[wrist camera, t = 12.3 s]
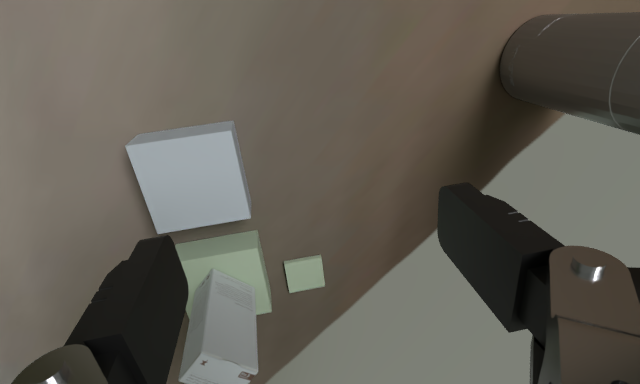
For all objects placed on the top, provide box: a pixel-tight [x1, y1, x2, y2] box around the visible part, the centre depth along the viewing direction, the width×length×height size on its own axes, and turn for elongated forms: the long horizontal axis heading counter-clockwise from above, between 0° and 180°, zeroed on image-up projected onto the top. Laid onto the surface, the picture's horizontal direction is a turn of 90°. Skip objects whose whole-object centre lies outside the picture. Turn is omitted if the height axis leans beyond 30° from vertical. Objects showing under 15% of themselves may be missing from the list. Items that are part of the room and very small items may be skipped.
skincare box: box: [179, 269, 258, 384], centre depth 37 cm, size 6×4×12 cm
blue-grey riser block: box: [125, 121, 251, 234], centre depth 38 cm, size 10×10×4 cm
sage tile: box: [284, 255, 325, 293], centre depth 48 cm, size 5×5×1 cm
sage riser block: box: [175, 230, 272, 320], centre depth 44 cm, size 10×10×4 cm
